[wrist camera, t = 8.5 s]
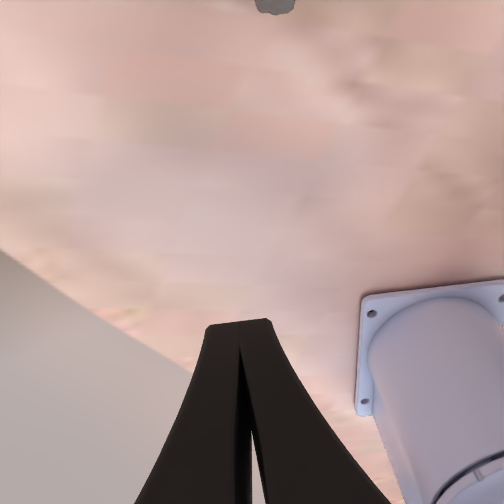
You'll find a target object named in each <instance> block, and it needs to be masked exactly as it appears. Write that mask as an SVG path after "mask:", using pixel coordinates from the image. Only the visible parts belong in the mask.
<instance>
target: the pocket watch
mask: <svg viewBox="0 0 504 504" xmlns="http://www.w3.org/2000/svg"><path fill="white" fill-rule="evenodd" d="M255 3H256V6H257V9H258V11H259V12H260V13H270V14H272V15H279V14H285V13H289V12H290V11H291V10H293V8H294V4H295V0H255Z"/></svg>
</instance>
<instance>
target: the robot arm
mask: <svg viewBox="0 0 504 504" xmlns="http://www.w3.org/2000/svg"><path fill="white" fill-rule="evenodd" d="M502 295H503V296H502ZM500 296H501V297H500ZM371 310H374V311H373V312H371V313H368V312H369V311H371ZM503 326H504V279H501V280H492V281H484V282H475V283H467V284H458V285H450V286H442V287H433V288H425V289H416V290H408V291H399V292H391V293H382V294H374V295H369V296H366V297H365V298H364V299H363V300H362V302H361V314H360V330H359V346H358V362H357V378H356V394H355V411H356V414H357V415H358V416H371V415H373V417H374V420H375V423H376V425H377V428H378V431H379V433H380V436H381V439H382V441H383V444H384V447H385V450H386V452H387V455H388V458H389V460H390V463H391V466H392V468H393V471H394V474H395V477H396V479H397V482H398V485H399V487H400V490H401V493H402V495H403V498H404V501H405V503H406V504H504V330H503ZM251 430H252V435H253V440H254V446H255V451H256V455H257V461H258V467H259V471H260V477H261V482H262V487H263V493H264V498H265V503H266V504H391V503H390V502H389V500H388V499H387V498H386V497H385V496H384V495H383V493H382V492H381V491H380V490H379V489H378V488H377V486H376V485H375V484H374V483H373V482H372V480H371V479H370V478H369V477H368V475H367V474H366V473H365V472H364V470H363V469H362V468H361V467H360V465H359V464H358V463H357V462H356V460H355V459H354V458H353V457H352V455H351V454H350V453H349V451H348V450H347V449H346V447H345V446H344V445H343V443H342V442H341V441H340V439H339V438H338V437H337V435H336V434H335V432H334V431H333V430H332V428H331V427H330V425H329V424H328V423H327V421H326V420H325V418H324V417H323V415H322V414H321V413H320V411H319V410H318V408H317V407H316V405H315V404H314V402H313V400H312V399H311V397H310V396H309V394H308V392H307V391H306V389H305V388H304V386H303V384H302V383H301V381H300V380H299V378H298V376H297V375H296V373H295V371H294V369H293V368H292V366H291V364H290V362H289V360H288V358H287V357H286V355H285V353H284V351H283V349H282V347H281V345H280V343H279V340H278V338H277V336H276V333H275V331H274V328H273V325H272V322H271V321H270V320H268V319H267V318H262V319H254V320H246V321H238V322H230V323H222V324H214V325H210V326H209V327H208V328H207V329H206V330H205V335H204V340H203V344H202V348H201V351H200V355H199V358H198V361H197V364H196V367H195V370H194V373H193V376H192V379H191V382H190V385H189V387H188V390H187V392H186V395H185V397H184V400H183V403H182V405H181V408H180V410H179V413H178V415H177V417H176V420H175V422H174V424H173V426H172V429H171V431H170V433H169V435H168V437H167V439H166V442H165V444H164V446H163V448H162V451H161V453H160V455H159V457H158V459H157V461H156V463H155V465H154V467H153V469H152V471H151V473H150V475H149V477H148V479H147V481H146V483H145V485H144V487H143V488H142V490H141V492H140V494H139V496H138V498H137V499H136V502H135V503H134V504H252V436H251Z"/></svg>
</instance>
